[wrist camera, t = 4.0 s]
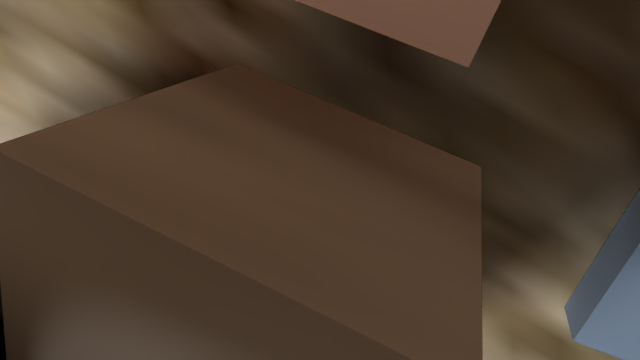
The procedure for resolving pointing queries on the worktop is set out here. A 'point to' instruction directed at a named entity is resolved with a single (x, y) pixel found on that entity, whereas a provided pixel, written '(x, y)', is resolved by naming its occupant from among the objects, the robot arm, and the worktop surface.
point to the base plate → (611, 293)
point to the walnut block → (237, 233)
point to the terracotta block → (421, 22)
